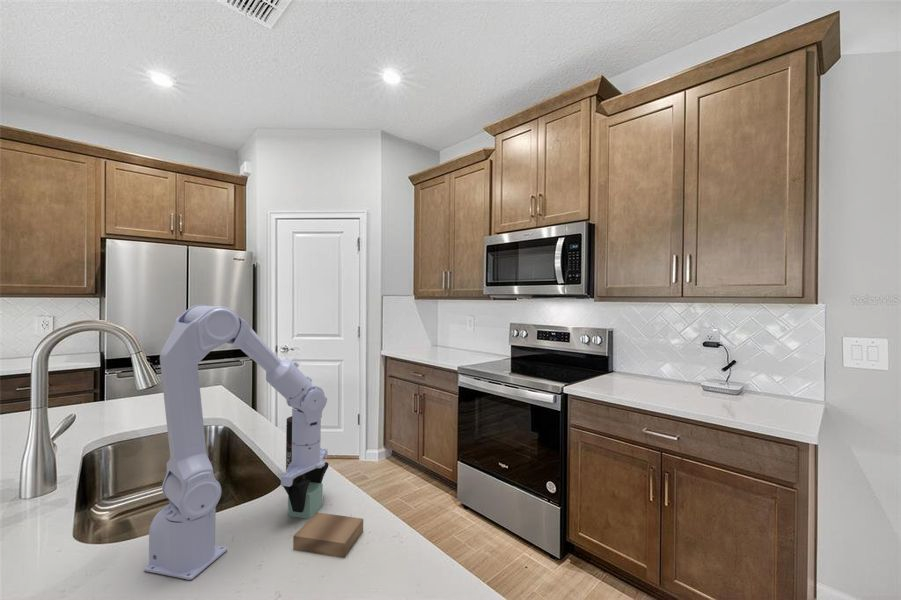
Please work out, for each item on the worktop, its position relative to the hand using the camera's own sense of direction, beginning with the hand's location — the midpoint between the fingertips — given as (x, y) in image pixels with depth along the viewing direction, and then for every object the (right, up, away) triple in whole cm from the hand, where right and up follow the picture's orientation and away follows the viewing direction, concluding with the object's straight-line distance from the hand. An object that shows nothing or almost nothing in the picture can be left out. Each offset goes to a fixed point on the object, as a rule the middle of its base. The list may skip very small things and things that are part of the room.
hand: (305, 504), depth 86 cm
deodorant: (-7, -1, +15) cm, 16 cm away
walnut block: (+8, -2, -10) cm, 13 cm away
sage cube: (0, -1, 0) cm, 1 cm away
